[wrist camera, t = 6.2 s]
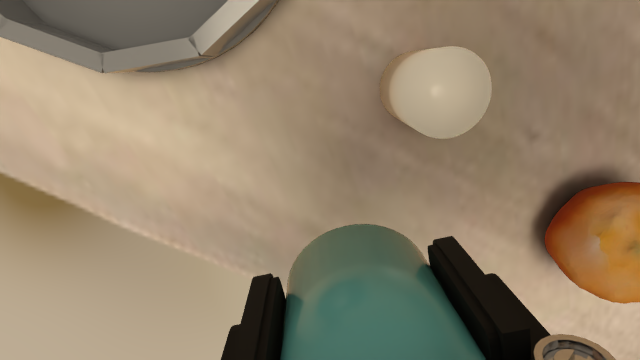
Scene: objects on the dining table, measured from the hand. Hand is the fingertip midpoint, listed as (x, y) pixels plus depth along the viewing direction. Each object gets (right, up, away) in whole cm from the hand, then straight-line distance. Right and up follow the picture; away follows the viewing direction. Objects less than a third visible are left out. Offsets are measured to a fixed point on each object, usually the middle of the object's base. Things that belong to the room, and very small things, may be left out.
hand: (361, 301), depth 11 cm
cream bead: (+5, +10, +13) cm, 17 cm away
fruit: (+19, +1, +17) cm, 25 cm away
